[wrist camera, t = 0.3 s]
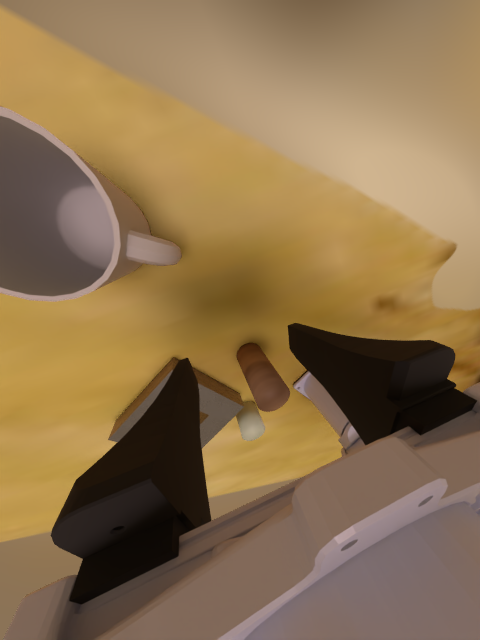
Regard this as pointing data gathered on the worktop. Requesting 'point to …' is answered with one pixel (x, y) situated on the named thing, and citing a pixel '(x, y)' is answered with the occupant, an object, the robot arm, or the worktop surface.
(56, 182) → the cup
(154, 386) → the collar plate
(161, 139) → the worktop surface
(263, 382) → the walnut dowel
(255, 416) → the pale cream cylinder
